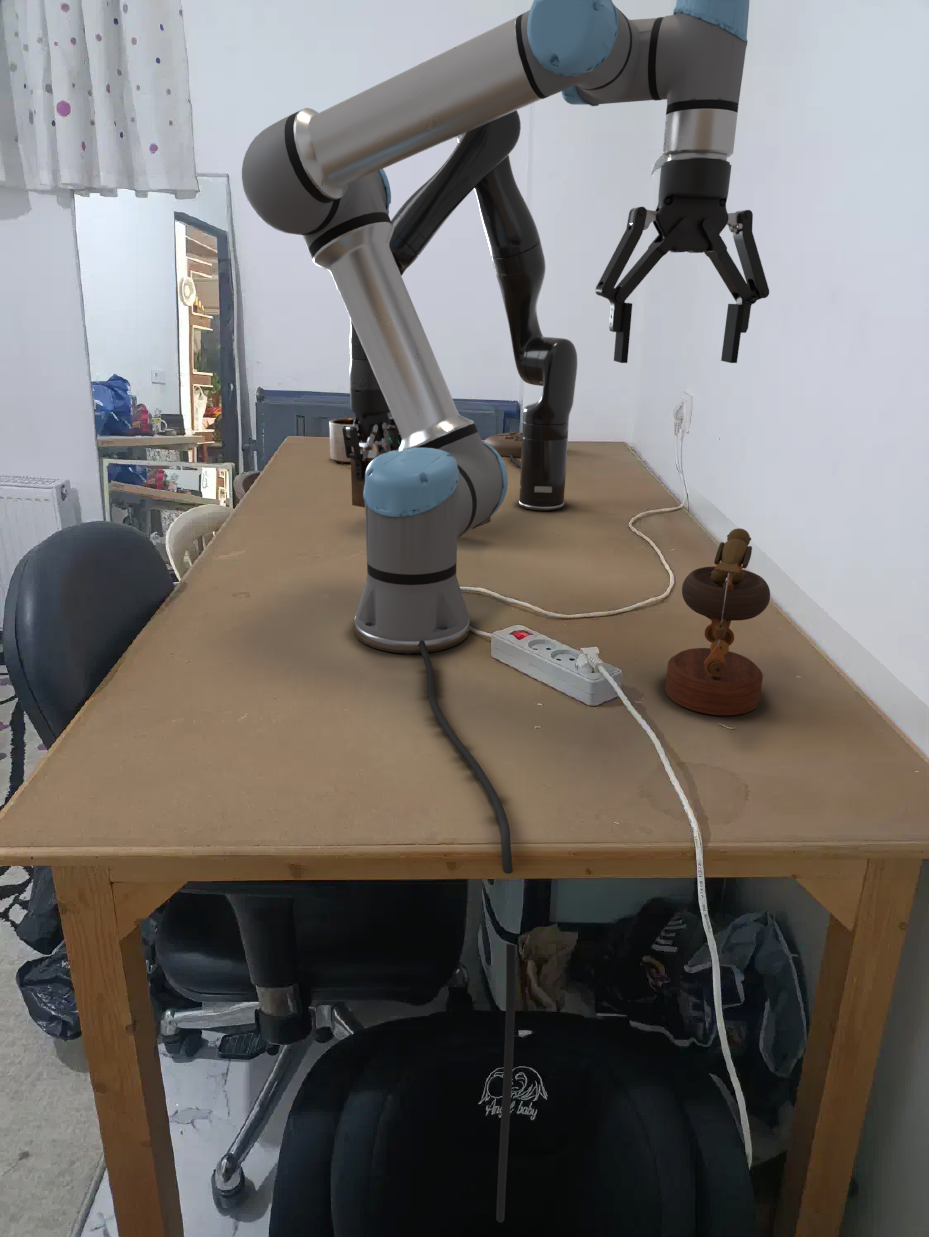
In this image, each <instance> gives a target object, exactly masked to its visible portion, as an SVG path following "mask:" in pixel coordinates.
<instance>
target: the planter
mask: <svg viewBox="0 0 929 1237" xmlns="http://www.w3.org/2000/svg"><path fill="white" fill-rule="evenodd" d="M354 420H355V417H342V418H341V417H340V418H335V419H334V418H333V419H331V420H329V421H328V424H329V425H328V426H329V453H330V454H329V455H330V456H329V457H330V459H331V460H332V461H333V462H335V463H341V464H351V458H347V457H346V451H345V444H344V437H343V430H342V428H343V426H350V425H353V424H354ZM361 443H365V442H363V441H361ZM351 448H352V452H354V449H353V447H351ZM371 450H372V451H375V449H374V445H373V446H372V449H371ZM360 452H363V448H362V449H361V450H360Z"/></svg>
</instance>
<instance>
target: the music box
mask: <svg viewBox="0 0 929 1237" xmlns="http://www.w3.org/2000/svg"><path fill="white" fill-rule="evenodd" d="M726 537H727V538H726V541H725V542H723V541H722V542H720V544H719V545H718V549H717V550H716V554H715V557H714V562H713V564H714V565H715V566H704V567H699V568H696V569H694V570H692V571H691V572H690V573H689V574H688V575H687V576H686V577H685V578H684V580H683V582H682V586H681V595H682V598H683V601H684V603H685V605H686V606H687V607H688V608H689V609H691V610H692V611H693V612H695V613H697V614H699V615H700V616H703V617H706V618H707V619H709V620H710V621H711V622H710V623H709V624H708V625H707V626H706V627H705V628H704V637H705V640H707V641H708V642H709V643H711V644H710V647H695V648H689V649H685V650H682V651H680V652H678V653H676V654H675V655H673V656H672V657H671V658H670V659H669V660H668V662H667V667H666V668H667V669H666V675H665V676H666V677H665V686H664V691H665V694H666V695H667V696H668V698H669V699H671V700H672V701H673V702H674V703H676V704H678V705H679V706H681V707H683V708H686V709H688V710H691V711H694V712H697V713H701V714H706V715H712V716H738V715H742V714H746V713H749V712H751V711H753V710H754V709H756V708H757V707H758V705H759V703H760V698H761V691H762V685H763V680H764V673H763V672H762V670H761V669H760V668H759V666H757V665H756V663H755V662H753V661H752V660H751V659H749V657H747V656H744V655H742V654H740V653H736V652H734V651H730V646H731V645H732V644H733V643H734V641H735V634H734V631H733V630H732V629H731V628H730V626H731V623H732V621H737V622H738V621H746V620H751V619H754V618H756V617H758V616H759V615H761V614H762V613H763V612H764V611H765V610H766V609H767V608H768V606H769V603H770V600H771V590H770V587H769V585H768V582H766V580H765V579H764V578H763V577H762V576H761V575H759V574H757V573H754V572H752V571H749V570H747V568H748V566H749V563H750V561H751V557H752V553H753V552H752V551H753V546H751V545H750V542H751V541H752V537H751V535H750V533H749V532H748V530H746V529H744V528H739V527H737V528H733V529H732V530H731V531H730V532H729V533H728V534H727V535H726Z"/></svg>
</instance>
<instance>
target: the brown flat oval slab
mask: <svg viewBox="0 0 929 1237" xmlns="http://www.w3.org/2000/svg"><path fill="white" fill-rule="evenodd" d="M483 442H484V443H486V444H488V445H489V446H491V447H493V448H494V449H495V450H496V451H497V452H498V453H499V455H500V456H501V457H502V456H503V457H510V454H513V458H515V457H517V458H521V449H522V431H521V432H518V433H517V432H516V431H511V432H502V433H498V434H493V435H490V436H488V437H487V438H485V439H484V441H483Z"/></svg>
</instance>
